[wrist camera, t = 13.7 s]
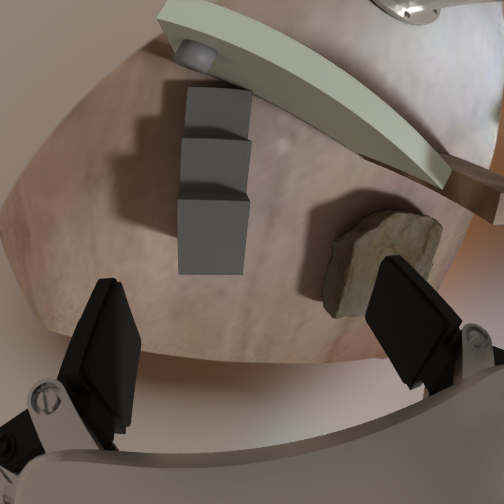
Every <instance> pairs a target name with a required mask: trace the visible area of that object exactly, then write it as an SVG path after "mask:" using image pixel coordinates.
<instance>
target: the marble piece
mask: <svg viewBox="0 0 504 504" xmlns="http://www.w3.org/2000/svg"><path fill="white" fill-rule="evenodd" d="M442 230H443V227H442V225H441V224H440V223H439V222H438V221H437V220H436V219H434V218H431V217H430V216H428V215H419V214H415V213H411V212H409V211H392V210H386V211H380V212H374V213H372V214H371V215H369V216H367V217H365V218H364V219H363V220H362V221H361V222H360V223H359V224H358V225H357V226H356V227H355V228H353V229H352V230H351V231H349V232H348V233H346V234H345V235H343V236H341V237H339V238H337V239H336V240H334V242H333V256H332V259H331V261H330V262H329V264H328V266H327V271H326V275H325V279H324V284H323V288H322V301H323V306H324V308H325V310H326V311H327V312H328V313H329V314H330V315H331V317H332V318H335V319H338V318H341V317H344V316H349V317H362V316H364V315H365V313H366V310H367V307H368V304H369V301H370V297H371V294H372V291H373V288H374V284H375V281H376V277H377V274H378V270H379V267H380V263H381V261H382V260H384V258H385V257H386V256H391V255H400V256H402V257H403V258H404V259H405V260H406V261H407V262H408V263H409V264H410V265H411V266H412V267H413V268H414V269H415V270H416V271H417V272H418V273H419V274H420V275H421V276H422V277H423V278H424V279H425V280H426V281H427V280H428V276H429V273H430V271H431V268H432V266H433V263H432V261H433V258H434V255H435V253H436V250H437V248H438V245H439V242H440V238H441V233H442Z"/></svg>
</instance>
